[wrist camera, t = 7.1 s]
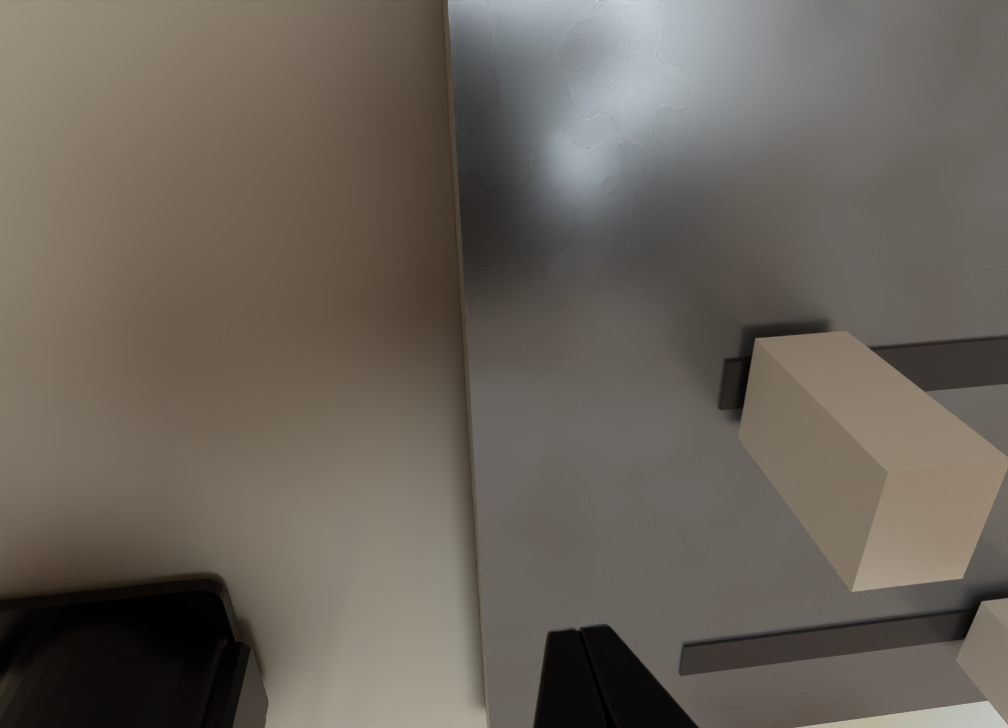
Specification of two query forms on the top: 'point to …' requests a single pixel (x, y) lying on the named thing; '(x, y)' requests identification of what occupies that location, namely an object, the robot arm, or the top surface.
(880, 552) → the block
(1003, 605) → the block
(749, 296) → the switch panel
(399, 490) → the top surface
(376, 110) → the top surface
